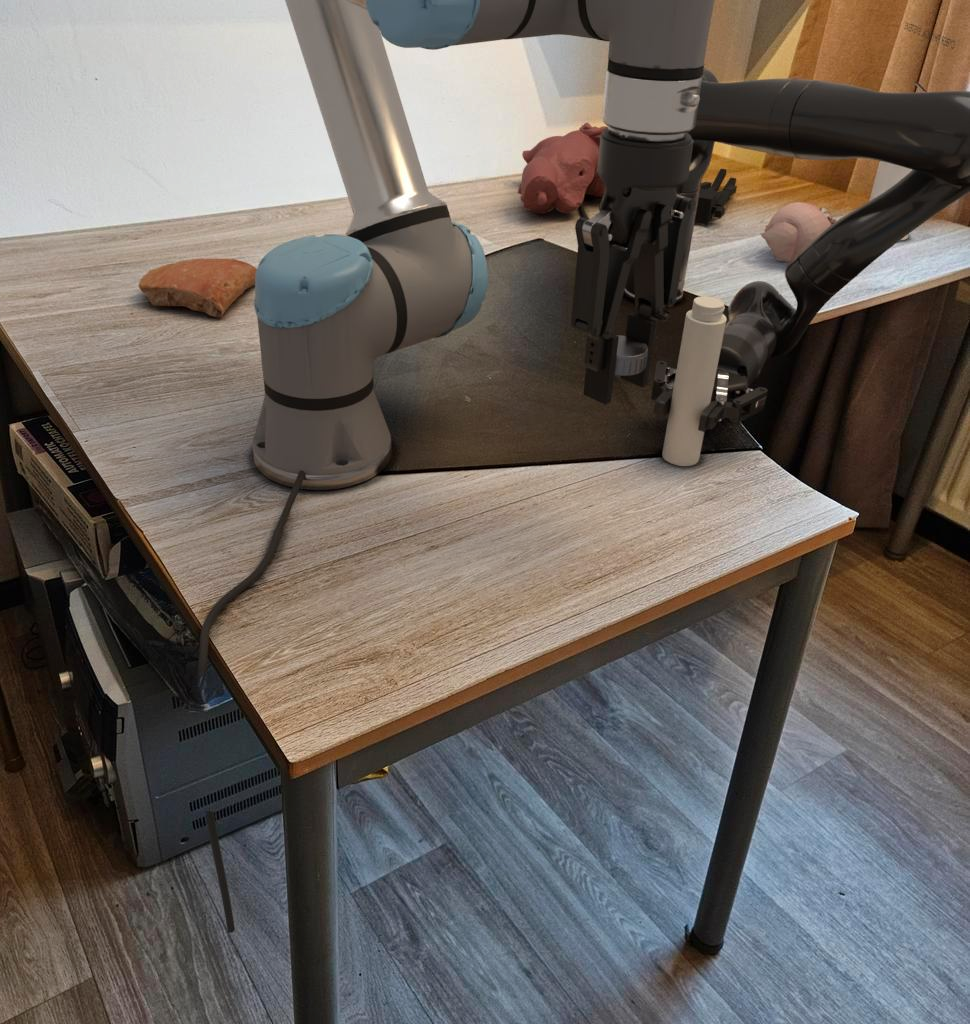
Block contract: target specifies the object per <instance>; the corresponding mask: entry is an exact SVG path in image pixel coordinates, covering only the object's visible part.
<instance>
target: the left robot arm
mask: <svg viewBox="0 0 970 1024" xmlns="http://www.w3.org/2000/svg"><path fill="white" fill-rule="evenodd" d="M715 1H716V0H284V2H285V6H286V7H287V11H288V15H289V17H290V20H291V23H292V27H293V30H294V33H295V36H296V39H297V43H298V45H299V46H298V47H299V49H300V52H301V55H302V58H303V61H304V64H305V67H306V70H307V74H308V76H309V80H310V83H311V87H312V90H313V93H314V95H315V99H316V101H317V105H318V107H319V111H320V114H321V118H322V120H323V123H324V124H323V125H324V127H325V130H326V133H327V136H328V139H329V142H330V145H331V147H332V152H333V155H334V158H335V161H336V164H337V167H338V170H339V173H340V177H341V180H342V183H343V186H344V190H345V193H346V196H347V199H348V202H349V205H350V208H351V211H352V218H351V220H350V223H349V226H348V227H347V229H346V232H345V235H343V234H335V233H334V234H333V233H332V234H330V233H329V234H327V233H326V234H323V235H322V236H316V235H315V234H314V235H307V236H302V237H298V238H295V239H291V240H288V241H286V242H283V243H281V244H279V245H278V246H275V247H274V248H272V249H271V250H270V251H268V252H267V253H266V254H265V255H264V256H263V257H262V258H261V260H260V261H259V263H258V265H257V267H256V268H257V270H256V274H255V284H254V302H253V307H254V311H255V315H256V317H257V326H258V327H257V328H258V329H257V330H258V337H259V348H260V357H261V358H260V359H261V368H262V378H263V388H264V390H263V391H264V396H263V400H262V404H261V408H260V412H259V415H258V419H257V423H256V427H255V430H254V434H253V438H252V455H253V460H254V464H255V467H256V468H257V470H258V471H259V472H260V473H261V474H262V475H263V476H265V477H266V478H268V479H269V480H271V481H273V482H275V483H278V484H280V485H283V486H286V487H290V488H291V490H290V493H289V495H288V498H287V500H286V503H285V505H284V507H283V509H282V512H281V515H280V517H279V519H278V521H277V524H276V526H275V529H274V531H273V534H272V537H271V541H270V543H269V546H268V548H267V551H266V553H265V555H264V557H263V558H262V560H261V561H260V562H259V564H258V565H257V567H256V568H255V569H254V570H253V571H252V572H251V573H250V574H249V575H248V576H247V577H245V578H244V579H243V580H242V581H241V582H239V583H238V584H237V585H235V586H234V587H233V588H232V589H230V590H229V591H228V592H226V593H225V594H224V595H222V597H220V599H218V601H216V602H215V604H214V605H213V607H211V609H210V610H209V612H208V614H207V615H206V618H205V619H204V622H203V624H202V626H201V631H200V633H199V634H200V635H199V648H198V650H199V651H198V660H197V668H196V669H197V670H196V676H197V677H198V678H203V677H205V676H206V674H207V668H208V659H209V658H208V657H209V644H210V643H209V642H210V632H211V628H212V626H213V624H214V622H215V619H216V618H217V617H218V615H219V613H220V612H221V611H222V610H223V609H224V607H226V606H227V604H228V603H230V602H231V601H232V600H233V599H235V598H236V597H237V596H238V595H239V594H241V593H242V592H244V591H245V590H246V589H247V588H249V587H250V586H251V585H252V584H254V583H255V582H256V581H257V580H258V579H259V577H260V576H261V575H262V574H264V572H265V570H266V569H267V568H268V566H269V564H270V563H271V562H272V561H271V560H272V559H273V557H274V555H275V553H276V550H277V548H278V545H279V541H280V539H281V536H282V533H283V531H284V528H285V525H286V523H287V520H288V518H289V516H290V513H291V510H292V508H293V505H294V503H295V501H296V498H297V496H298V493H299V491H300V489H301V490H312V491H314V490H315V491H323V490H327V491H328V490H337V489H342V488H348V487H351V486H355V485H358V484H361V483H363V482H366V481H368V480H370V479H373V478H374V477H375V476H377V475H378V474H380V473H381V472H382V471H383V470H384V469H385V468H386V467H387V466H388V464H389V463H390V461H391V458H392V434H391V432H390V430H389V427H388V424H387V422H386V419H385V417H384V413H383V411H382V408H381V406H380V403H379V400H378V398H377V395H376V393H375V385H374V360H375V359H376V358H379V357H382V356H384V355H387V354H392V353H394V352H396V351H399V350H402V349H406V348H409V347H411V346H415V345H417V344H419V343H424V342H426V341H428V340H433V339H436V338H441V337H446V336H447V335H449V334H450V333H452V332H453V331H456V330H458V329H460V328H462V327H464V326H466V325H468V324H470V322H472V321H473V320H474V319H475V318H476V317H477V315H478V314H479V312H480V311H481V309H482V305H483V304H482V303H483V301H485V299H486V297H487V292H488V285H489V271H488V263H487V259H486V254H485V251H484V248H483V246H482V244H481V242H480V240H479V239H478V237H477V236H476V235H475V234H471V229H469V227H468V226H465V225H463V224H461V223H458V222H455V221H452V218H451V215H450V211H449V208H448V205H447V202H446V201H443V200H442V199H440V198H439V197H437V196H435V195H433V194H432V193H431V192H430V191H429V190H428V186H427V183H426V180H425V175H424V172H423V170H422V166H421V162H420V159H419V156H418V153H417V149H416V145H415V143H414V139H413V135H412V132H411V130H410V126H409V122H408V119H407V115H406V113H405V109H404V106H403V102H402V98H401V96H400V92H399V89H398V86H397V83H396V80H395V75H394V73H393V69H392V65H391V63H390V59H389V56H388V53H387V49H386V46H385V43H384V39H385V40H386V41H387V42H388V43H389V44H392V45H394V46H397V47H398V48H403V49H415V48H417V49H418V48H419V49H425V50H432V51H434V50H442V49H446V48H448V47H453V46H454V47H455V46H462V45H470V44H478V43H487V42H496V41H502V40H503V41H504V40H517V39H526V38H534V37H546V36H556V35H557V36H558V35H559V36H561V35H562V36H563V35H564V36H573V37H580V38H585V39H593V40H597V41H602V42H609V43H608V55H607V59H608V60H607V69H606V75H605V84H604V92H603V93H604V94H603V100H602V101H603V103H602V111H601V120H602V123H603V124H605V126H606V127H608V128H606V129H605V130H604V132H602V133H601V137H600V147H599V157H598V167H597V172H598V175H599V176H600V178H602V180H603V182H604V184H605V193H604V196H602V198H601V201H600V205H599V210H598V211H599V212H597V213H596V214H595V215H594V216H592V217H591V218H589V219H590V220H588V219H585V218H584V217H579V218H578V219H577V220H576V222H575V226H574V229H575V235H576V242H577V252H576V253H577V255H576V265H575V277H574V286H573V287H574V288H573V298H572V308H571V321H570V327H571V329H572V330H574V331H576V332H579V333H582V334H584V335H586V343H585V344H586V346H585V354H584V366H585V377H584V385H583V396H585V397H588V398H589V399H592V400H593V401H596V402H598V403H601V404H603V405H605V406H607V405H608V404H611V403H612V397H613V396H612V395H613V387H614V380H615V375H614V372H615V364H616V356H617V348H618V340H619V336H620V335H619V336H616V335H617V334H614V332H615V331H614V330H615V327H616V324H617V320H618V315H619V311H620V308H621V304H622V301H623V297H624V290H625V286H626V282H627V278H628V275H629V271H630V267H631V264H632V262H634V291H635V301H634V309H635V311H636V312H638V313H636V312H631V313H629V314H628V315H627V321H626V322H627V323H626V329H625V336H628V337H633V338H636V339H639V340H641V341H642V342H644V343H645V344H646V345H647V347H648V357H647V364H646V367H645V369H644V370H643V371H642V372H640V373H638V374H634V375H620V377H619V378H620V379H621V380H624V381H627V382H628V383H631V384H633V385H635V386H638V387H639V388H642V389H643V388H645V387H647V386H648V385H649V376H650V369H651V363H652V355H653V348H654V345H655V341H656V335H657V333H656V332H657V328H658V321H659V320H660V321H663V322H666V321H668V319H669V318H670V316H671V311H669V310H668V309H666V308H667V307H668V308H672V307H674V306H675V304H676V303H675V302H676V298H677V292H678V285H679V279H680V272H681V266H682V259H683V252H684V246H685V239H686V233H687V226H688V223H689V220H690V217H691V215H692V212H693V209H694V205H695V201H694V199H692V198H688V197H684V196H681V195H677V192H676V187H679V186H681V185H683V184H684V183H685V182H686V181H687V179H688V176H689V169H690V162H691V155H692V149H693V142H694V141H693V139H692V138H691V136H690V135H689V134H688V133H687V132H689V131H691V130H692V129H693V128H694V127H695V125H696V118H697V111H698V104H699V101H700V97H699V96H700V89H701V82H702V75H703V70H704V68H705V59H706V53H707V48H708V40H709V35H710V34H709V33H710V29H711V22H712V17H713V12H714V6H715ZM673 221H674V222H673ZM613 243H614V244H615V245H618V246H621V247H624V248H626V249H627V250H625V249H622V248H619V247H616V246H614V244H613ZM664 288H666V291H664ZM204 814H205V819H206V825H207V830H208V836H209V841H210V846H211V851H212V856H213V861H214V866H215V871H216V876H217V880H218V886H219V890H220V895H221V900H222V906H223V911H224V918H225V923H226V929H227V932H228V933H229V934H232V933H234V932H235V930H236V927H235V921H234V915H233V913H234V912H233V908H232V902H231V897H230V896H231V895H230V891H229V887H228V881H227V877H226V875H227V874H226V871H225V866H224V861H223V856H222V851H221V846H220V840H219V835H218V830H217V822H216V816H215V811H211V810H205V811H204Z"/></svg>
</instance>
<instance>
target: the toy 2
mask: <svg viewBox="0 0 970 1024" xmlns="http://www.w3.org/2000/svg"><path fill="white" fill-rule="evenodd" d="M831 215H832V214H831V213H830V211H829V210H828V209H826V208H824V207H820V208H818V207H816V206H815V205H814V204H810V203H808V202H804V201H803V202H802V201H794V202H790V203H787V204H786V205H784V206H783V207H781V208H780V209H778V210H777V211H776V212H775V213H774V214H773V215H772V216H771V219H770V220H769V222H768V223H767V225H765V229H764V232H760V233H759V234H760V236H761V238H762V239H764V240H765V242H766V244H767V246H768V248H769V249H770V252H771V254H772V255H773V256H774V258H776V259H777V261H781V262H786V263H787V264H789V263H790V262H791V261H792V260H793V259H794V258H795V257H796V256H797V255H798V254H800V253H801V252H802V251H803V250H804V249H805V248H806V247H807V246H808V245H809V244H810V243H811V242H812V241H813V240H815V239H816V238H817V237H818V236H819V235H820V234H821V233H822V232H823V231H825V230H826V229H827V228H828V227H829V226H831V225H832V224H833V223H835V222H836V221H837V219H836V217H831Z"/></svg>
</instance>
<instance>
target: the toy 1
mask: <svg viewBox="0 0 970 1024" xmlns="http://www.w3.org/2000/svg"><path fill="white" fill-rule="evenodd" d="M727 171H728V170H727V169H726V168H720V169H719V171H718V173H717V175H716V177H715V178H714V180H713V182H710V181H704V182H701V186H700V192H699V198H698V204H697V211H696V217H695V223H694V224H699V225H706V226H707V225H709V223H711V221H712V220H713V218H716V219H722V217H723V216H724V215H725V212H726V204H727V203H728V201H729V199H730V198H731V197H732V196H734V195H735V194H736V193H737V188H738V185H736V182H737V177H732V176H731V177H730V178H729V179H728V180H727V182H726V183H725V185H724V187H723V188H722V190H719V189H720V188H721V186H722V184H723V181H724V180H725V178H726V176H727Z"/></svg>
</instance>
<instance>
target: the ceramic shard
mask: <svg viewBox="0 0 970 1024" xmlns="http://www.w3.org/2000/svg"><path fill="white" fill-rule="evenodd" d="M257 268H258V267H255V266H254V265H253V264H251V263H248V262H245V261H243V260H238V259H235V258H193V259H187V260H181V261H177V262H175V263H169V264H166V265H165V264H164V265H161V266H159V267H156V268H153V269H150V270H148V272H147V273H145V274H144V275H143V276H142V277H141V278H140V280H139V282H138V288H139V290H140V291H141V292H142V293H143V294H145V296H146V297H147V299H148V300H149V301H150V303H151V305H152V306H154V307H186V308H188V309H190V310H192V311H196V312H202V313H205V314H207V315H208V316H211V317H214V318H220V317H222V316H223V315H225V313H226V311H227V310H228V308H229V307H230V306H231V305H232V304H233V303H234V301H236V300H237V299H238V298H239V297H240V296H241V295H243V293H244V292H245V290H248V289H249V288H251V287H253V286H255V274H256V270H257Z"/></svg>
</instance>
